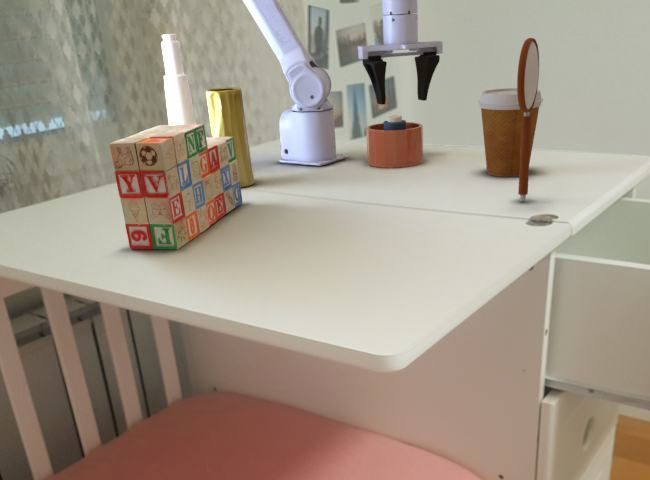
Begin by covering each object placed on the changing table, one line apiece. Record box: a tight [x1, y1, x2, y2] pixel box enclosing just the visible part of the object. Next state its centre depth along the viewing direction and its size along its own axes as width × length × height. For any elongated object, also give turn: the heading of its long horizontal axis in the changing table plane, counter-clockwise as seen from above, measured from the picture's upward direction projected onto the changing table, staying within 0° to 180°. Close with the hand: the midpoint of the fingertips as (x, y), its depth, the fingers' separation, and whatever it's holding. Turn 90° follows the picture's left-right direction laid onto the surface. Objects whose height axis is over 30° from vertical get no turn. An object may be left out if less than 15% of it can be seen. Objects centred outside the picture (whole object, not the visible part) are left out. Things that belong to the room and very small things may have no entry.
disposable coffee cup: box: [477, 87, 544, 178], centre depth 109 cm, size 10×10×12 cm
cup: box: [365, 121, 424, 169], centre depth 122 cm, size 9×9×6 cm
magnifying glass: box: [516, 37, 540, 202], centre depth 90 cm, size 9×2×20 cm, turn 155°
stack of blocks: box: [109, 123, 243, 250], centre depth 90 cm, size 21×6×12 cm, turn 168°
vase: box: [205, 86, 256, 188], centre depth 110 cm, size 6×6×14 cm
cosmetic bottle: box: [160, 33, 197, 125], centre depth 114 cm, size 6×6×22 cm
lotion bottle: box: [382, 114, 407, 130], centre depth 121 cm, size 4×4×7 cm
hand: (402, 102), depth 122 cm, fingers open, 7 cm apart
